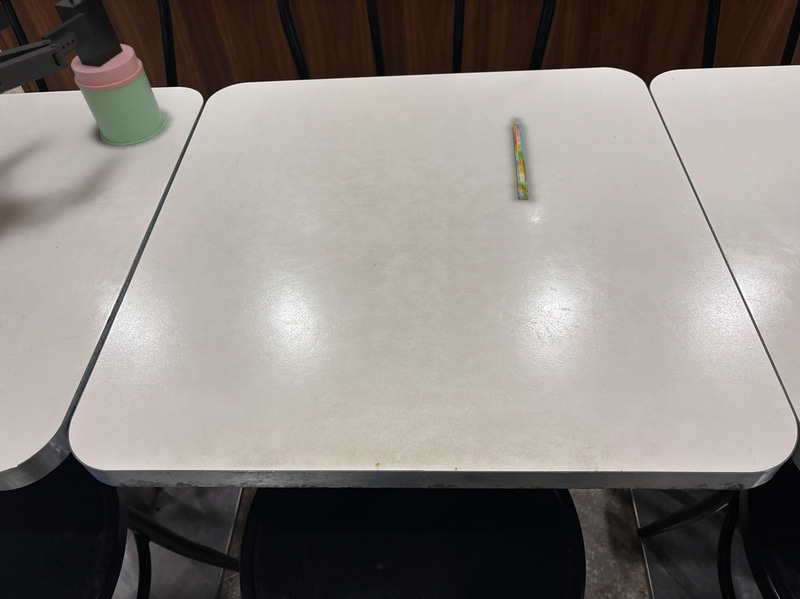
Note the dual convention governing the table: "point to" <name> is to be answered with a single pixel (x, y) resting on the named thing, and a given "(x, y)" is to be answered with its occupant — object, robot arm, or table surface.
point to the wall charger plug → (104, 37)
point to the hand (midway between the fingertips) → (45, 18)
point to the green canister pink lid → (120, 99)
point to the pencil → (520, 162)
